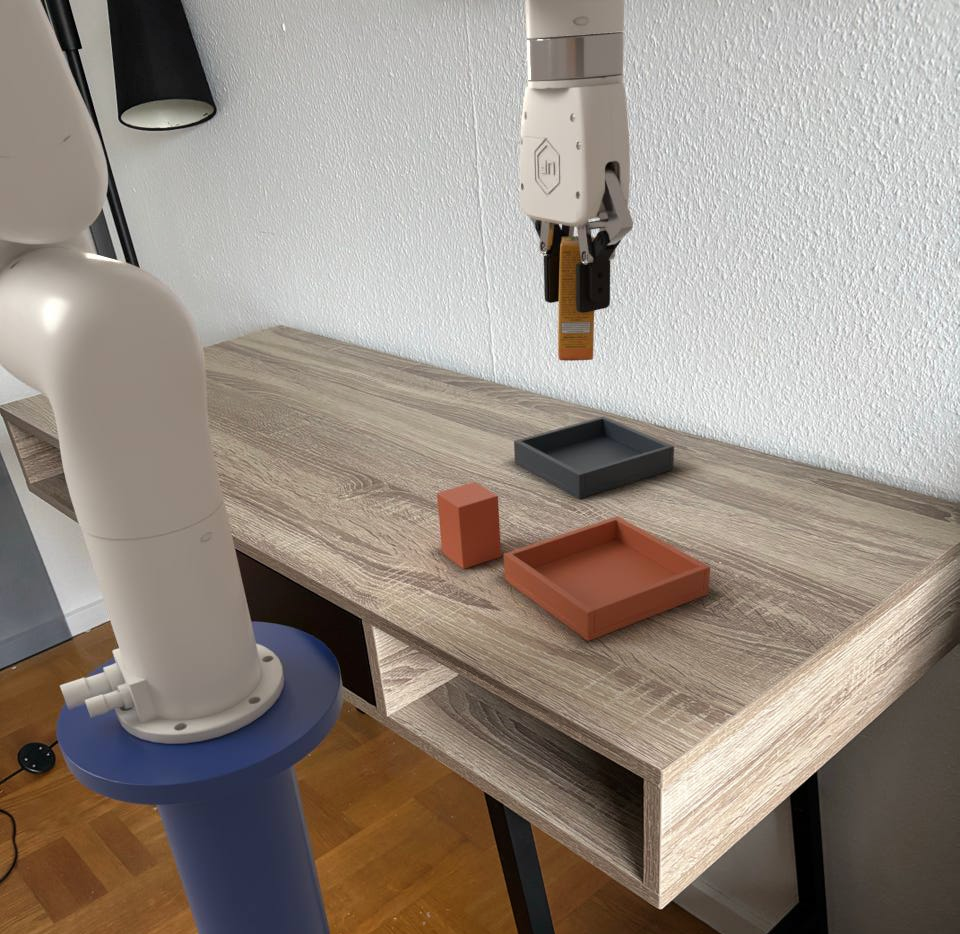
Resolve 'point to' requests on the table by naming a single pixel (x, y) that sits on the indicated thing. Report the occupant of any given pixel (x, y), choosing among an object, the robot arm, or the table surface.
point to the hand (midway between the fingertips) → (576, 302)
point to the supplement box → (572, 308)
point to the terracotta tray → (605, 576)
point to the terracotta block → (469, 524)
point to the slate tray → (593, 456)
